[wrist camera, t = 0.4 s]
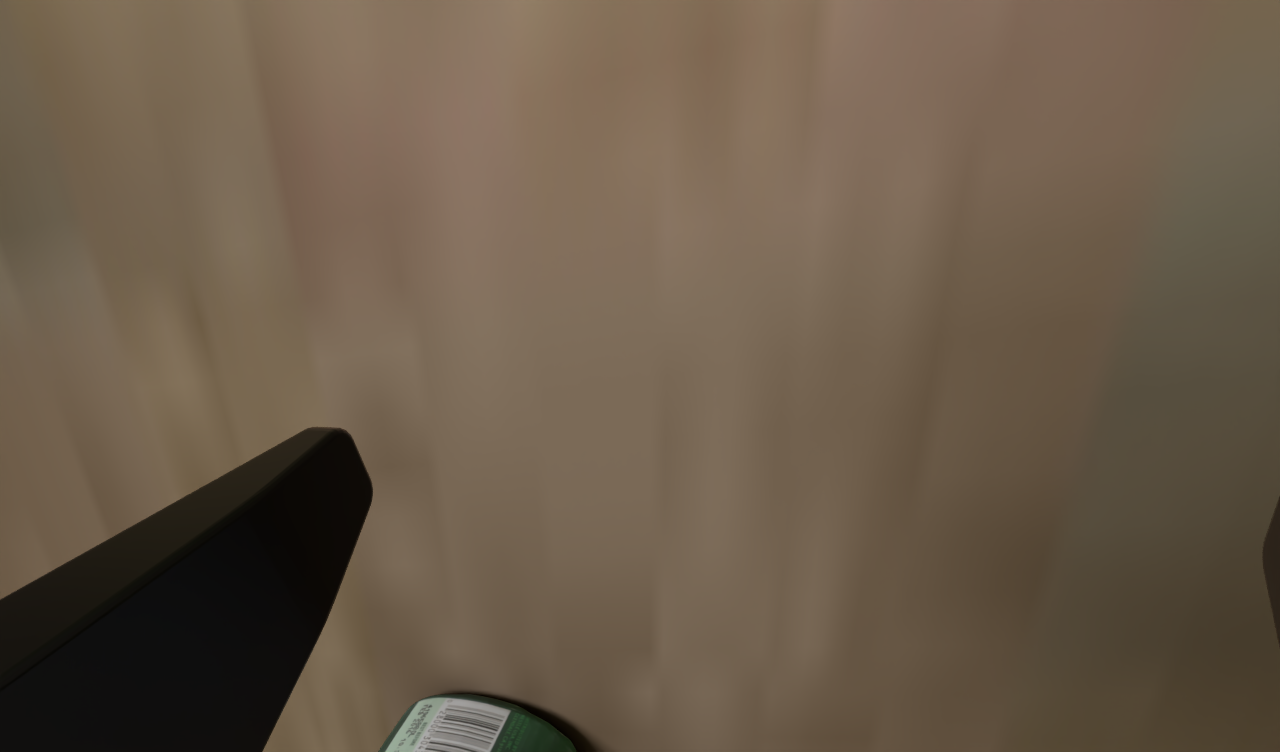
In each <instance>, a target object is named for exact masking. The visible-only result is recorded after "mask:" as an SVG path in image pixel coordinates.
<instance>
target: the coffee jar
mask: <svg viewBox="0 0 1280 752" xmlns="http://www.w3.org/2000/svg"><path fill="white" fill-rule="evenodd" d="M378 752H577V751H576V749H575V747H574V745H573V744H572V742H571V740H569V739H568V738H567V737H566V736H564V735H563V734H562V733H560V732H559V731H558V730H557V729H556V728H554V727H553V726H552V725H551V724H549V723H548V722H546V721H544V720H542V719H541V718H539V717H537V716H535V715H533V714H531V713H529V712H528V711H526V710H525V709H523V708H521V707H519V706H517V705H514V704H511V703H508V702H504V701H501V700H498V699H493V698H489V697H484V696H479V695H473V694H443V695H434V696H429V697H427V698H424V699H421V700H419V701H418V702H416V703H414V704H413V705H412V706H411V707H410V708H409V709H408V710H407V711H406V712H405V714H404V715H403V716H402V718H401V719H400V721H399V722H398V723H397V725H396V726H395V728H394V729H393V731H392V732H391V733H390V735H389V736H388V738H387V739H386V741H385V742H384V744H383V745H382V747H381V748H380V750H379V751H378Z"/></svg>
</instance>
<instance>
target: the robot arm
mask: <svg viewBox="0 0 1280 752" xmlns="http://www.w3.org/2000/svg"><path fill="white" fill-rule="evenodd" d="M372 496H373V487H372V482H371V479H370V477H369V474H368V472H367V470H366V467H365V465H364V463H363V461H362V458H361V456H360V454H359V451H358V449H357V447H356V445H355V442H354V440H353V438H352V436H351V435H350V434H349V433H348V432H347V431H346V430H344V429H341V428H331V427H311V428H308V429H306V430H304V431H302V432H300V433H298V434H296V435H295V436H293V437H291V438H289V439H287V440H286V441H284V442H282V443H280V444H278V445H277V446H275V447H273V448H271V449H269V450H268V451H266V452H264V453H262V454H261V455H259V456H257V457H255V458H253V459H252V460H250V461H248V462H246V463H244V464H243V465H241V466H239V467H237V468H235V469H234V470H232V471H230V472H228V473H226V474H225V475H223V476H221V477H219V478H218V479H216V480H214V481H212V482H210V483H209V484H207V485H205V486H203V487H201V488H200V489H198V490H196V491H194V492H192V493H191V494H189V495H187V496H185V497H183V498H182V499H180V500H178V501H176V502H175V503H173V504H171V505H169V506H167V507H166V508H164V509H162V510H160V511H158V512H157V513H155V514H153V515H151V516H149V517H148V518H146V519H144V520H142V521H140V522H139V523H137V524H135V525H133V526H132V527H130V528H128V529H126V530H124V531H123V532H121V533H119V534H117V535H115V536H114V537H112V538H110V539H108V540H106V541H105V542H103V543H101V544H99V545H97V546H96V547H94V548H92V549H90V550H89V551H87V552H85V553H83V554H81V555H80V556H78V557H76V558H74V559H72V560H71V561H69V562H67V563H65V564H63V565H62V566H60V567H58V568H56V569H54V570H53V571H51V572H49V573H47V574H46V575H44V576H42V577H40V578H38V579H37V580H35V581H33V582H31V583H29V584H28V585H26V586H24V587H22V588H20V589H19V590H17V591H15V592H13V593H11V594H10V595H8V596H6V597H4V598H2V599H1V600H0V752H262V751H263V749H264V747H265V745H266V743H267V741H268V739H269V737H270V735H271V733H272V731H273V729H274V727H275V725H276V723H277V721H278V719H279V717H280V715H281V713H282V711H283V709H284V707H285V705H286V703H287V701H288V699H289V697H290V695H291V693H292V691H293V689H294V687H295V685H296V683H297V681H298V679H299V677H300V675H301V673H302V671H303V669H304V667H305V665H306V663H307V661H308V659H309V657H310V655H311V653H312V651H313V648H314V646H315V644H316V642H317V640H318V638H319V636H320V634H321V632H322V630H323V627H324V625H325V623H326V621H327V619H328V616H329V614H330V611H331V609H332V606H333V604H334V601H335V599H336V596H337V593H338V591H339V588H340V585H341V583H342V580H343V577H344V575H345V572H346V570H347V567H348V564H349V562H350V559H351V556H352V554H353V551H354V548H355V546H356V543H357V540H358V538H359V535H360V532H361V530H362V527H363V524H364V522H365V519H366V516H367V514H368V511H369V508H370V506H371V502H372ZM1263 568H1264V574H1265V579H1266V583H1267V588H1268V593H1269V598H1270V603H1271V608H1272V613H1273V617H1274V622H1275V627H1276V632H1277V637H1278V642H1279V647H1280V497H1279V500H1278V503H1277V506H1276V508H1275V511H1274V514H1273V517H1272V520H1271V523H1270V526H1269V529H1268V531H1267V534H1266V537H1265V541H1264V545H1263Z"/></svg>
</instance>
